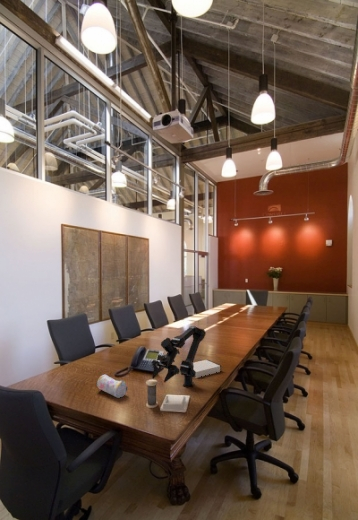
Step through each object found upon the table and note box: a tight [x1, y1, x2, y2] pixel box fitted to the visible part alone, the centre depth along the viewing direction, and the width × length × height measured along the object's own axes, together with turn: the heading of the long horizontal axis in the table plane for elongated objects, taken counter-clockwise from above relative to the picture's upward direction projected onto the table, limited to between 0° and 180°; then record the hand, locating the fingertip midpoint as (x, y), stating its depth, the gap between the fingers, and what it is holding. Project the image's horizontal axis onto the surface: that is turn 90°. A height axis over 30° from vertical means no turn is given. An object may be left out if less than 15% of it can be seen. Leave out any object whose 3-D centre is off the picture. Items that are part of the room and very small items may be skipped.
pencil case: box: [96, 374, 128, 399], centre depth 170 cm, size 21×9×10 cm, turn 51°
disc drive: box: [193, 359, 222, 379], centre depth 206 cm, size 18×22×5 cm
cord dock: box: [159, 394, 191, 413], centre depth 155 cm, size 17×14×4 cm
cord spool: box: [145, 379, 159, 409], centre depth 154 cm, size 6×6×13 cm
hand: (158, 380), depth 159 cm, fingers open, 9 cm apart
